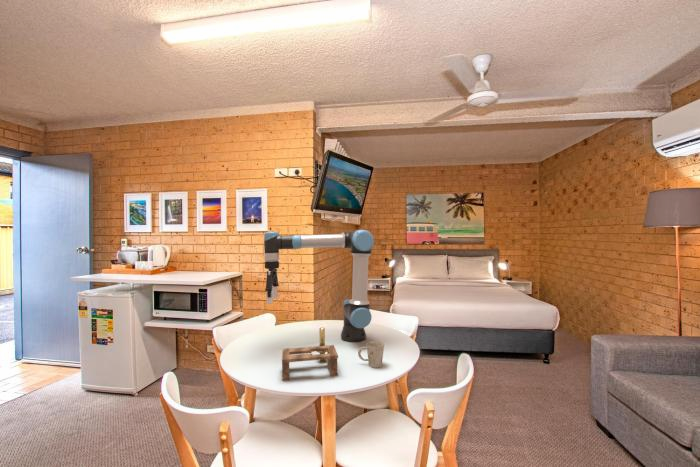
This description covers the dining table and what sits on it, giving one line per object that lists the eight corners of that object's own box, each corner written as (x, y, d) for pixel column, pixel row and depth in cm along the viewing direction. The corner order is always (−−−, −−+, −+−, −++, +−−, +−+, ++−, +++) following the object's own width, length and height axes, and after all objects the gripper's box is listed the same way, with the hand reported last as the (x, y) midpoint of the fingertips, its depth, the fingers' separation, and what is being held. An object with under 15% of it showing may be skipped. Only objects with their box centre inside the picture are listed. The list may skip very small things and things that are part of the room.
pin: (327, 358, 163) (327, 326, 163) (329, 362, 157) (328, 329, 157) (315, 359, 162) (315, 326, 162) (316, 363, 156) (316, 330, 156)
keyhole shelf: (333, 363, 155) (333, 345, 156) (338, 376, 142) (338, 355, 142) (282, 368, 151) (282, 348, 151) (282, 381, 137) (282, 359, 137)
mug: (383, 369, 148) (383, 347, 148) (356, 367, 151) (356, 345, 151) (385, 362, 156) (384, 341, 157) (359, 360, 159) (359, 340, 159)
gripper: (269, 259, 184) (270, 296, 184) (258, 262, 159) (259, 306, 159) (283, 259, 185) (283, 296, 184) (274, 262, 160) (274, 305, 159)
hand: (272, 301), depth 172 cm, fingers open, 13 cm apart
